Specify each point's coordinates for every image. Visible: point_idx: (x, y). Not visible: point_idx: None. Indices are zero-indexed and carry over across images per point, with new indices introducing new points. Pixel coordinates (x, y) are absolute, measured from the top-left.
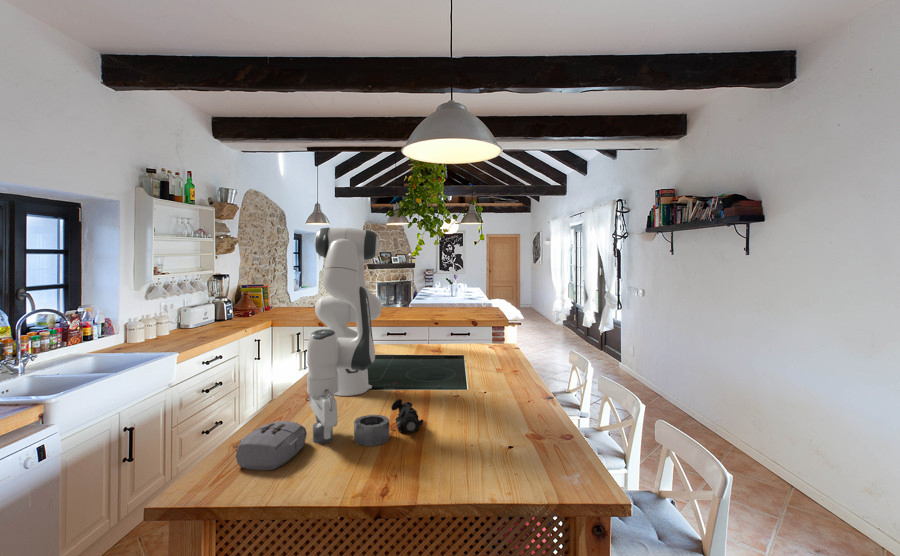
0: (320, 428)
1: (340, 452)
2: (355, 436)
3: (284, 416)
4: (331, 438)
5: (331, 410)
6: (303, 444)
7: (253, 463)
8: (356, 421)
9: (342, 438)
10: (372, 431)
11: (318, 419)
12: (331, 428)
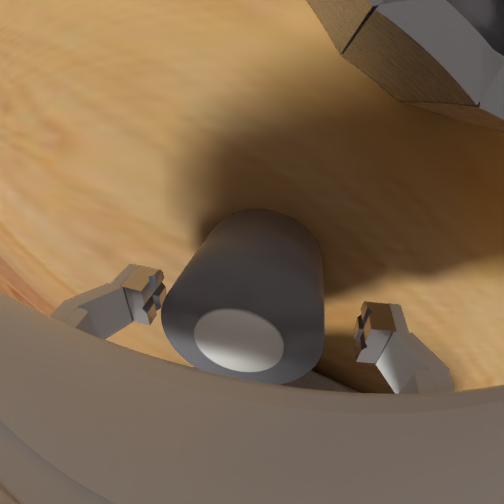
0: (307, 371)
1: (480, 253)
2: (455, 115)
3: (10, 284)
4: (308, 239)
5: (341, 483)
6: (335, 388)
7: None
8: (475, 69)
9: (312, 152)
10: None
11: (118, 317)
12: (440, 363)
